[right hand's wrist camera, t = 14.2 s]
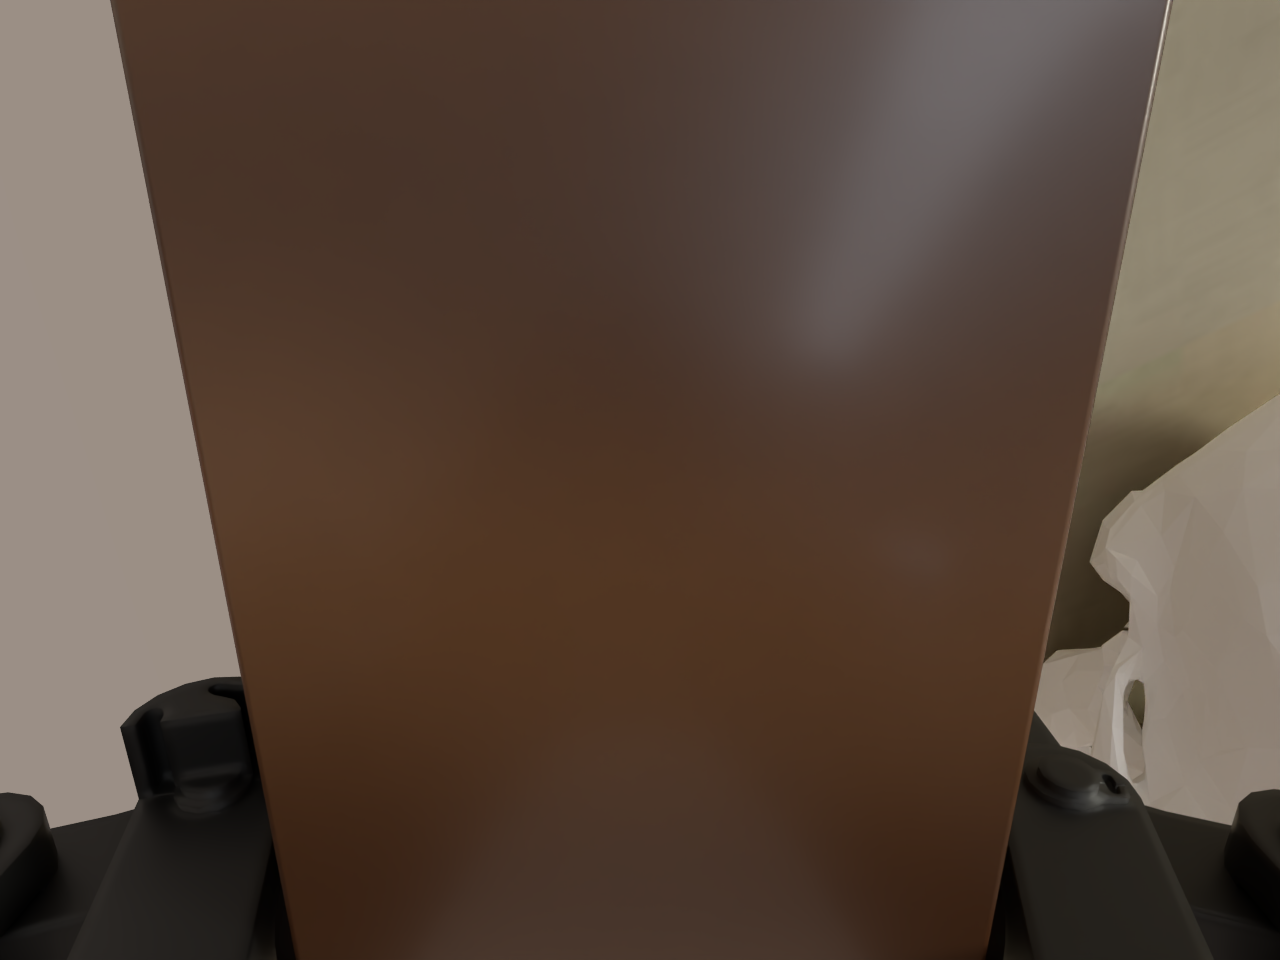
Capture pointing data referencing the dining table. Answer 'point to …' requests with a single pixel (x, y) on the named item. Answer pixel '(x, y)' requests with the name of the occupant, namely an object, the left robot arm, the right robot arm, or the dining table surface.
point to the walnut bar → (641, 445)
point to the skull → (1187, 632)
